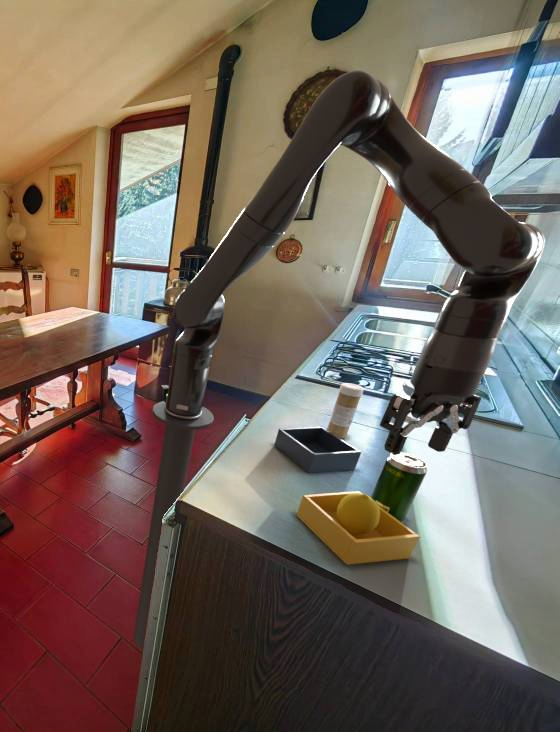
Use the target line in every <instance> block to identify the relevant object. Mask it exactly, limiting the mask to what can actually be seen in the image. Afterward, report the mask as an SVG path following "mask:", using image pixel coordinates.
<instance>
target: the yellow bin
mask: <svg viewBox="0 0 560 732" xmlns="http://www.w3.org/2000/svg"><path fill="white" fill-rule="evenodd" d="M353 493H361V494H363V493H362V492H361V491H359V490H354V491H353V490H352V491H342V492H339V491H338V492H330V493H327V492H326V493H315V494H303V495H302V497H301V500H300V503H299V506H298V510H297V512H296V517H297V518H299V519H300V521H301V522H303V524H304V525H305V526H306V527H308V528H309V530H311V531H312V532H313V533H314V535H316V536H317V537H318V538H319V540H321V541H322V542H323V543H324V544H325V545H326V546H327V548H329V549H330V550H331V551H332V552H333V553H334V554H335V555H336V556H337V557H338V558H339V559H340V560H341V561H342V562H343V563H344V564H345V565H357V564H358V565H359V564H367V563H377V562H378V563H379V562H388V561H398V560H407V559H410V558H411V555H412V553H413V552H414V550H415V548H416V547H417V543H418V542H419V540H420V538H421V536H420V535H419V534H417V533H416V532H415V531H413V530H412V529H411V528H410V527H408V526H407V525H406V524H404V523H403V522H400V521H398V520H397V519H396V518H394V517H393V516H392V515H390V514H389V513H388V512H386V511H385V510H384V509H382V508H381V507H380V506H378V507H379V509H380V518H379V522H378V525H377V526H376V527H375V529H374V530H373V531H371V532H369V533H367V534H354V533H349V532H348V531H347V530H345V529H344V528H343V527H342V526H341V525H340V523H339V522H338V519H337V507H338V505H339V503H340V502H341V500H342V499H343V498H344V497H345V496H347V495H349V494H353Z"/></svg>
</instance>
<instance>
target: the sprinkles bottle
mask: <svg viewBox="0 0 560 732" xmlns="http://www.w3.org/2000/svg"><path fill="white" fill-rule="evenodd" d="M364 390H365V388H364V387H363V386H361V385H358V384H355V383H351V382H343V383H341V384H340V386H339V389H338V394H337V398H336V401H335V403H334V406H333V408H332V411H331V414H330V417H329V422H328V424H327V427H326V428H325V429H326V430H328V431H329V432H331V433H332V434H334V435H335V436H337V437H339V438H340V439H345V438H347V437H348V432H349V430H350V427H351V425H352V422H353V419H354V417H355V415H356V412H357V408H358V405H359V403H360V399H361V398H362V396H363V394H364Z"/></svg>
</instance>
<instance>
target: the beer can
mask: <svg viewBox="0 0 560 732" xmlns="http://www.w3.org/2000/svg"><path fill="white" fill-rule="evenodd" d="M428 466H429V465H428V463H427V462H426V461H425V460H423V459H422V458H420V457H418V456H415V455H413V454H409V453H406V452H402V451H401V453H400V454H399V455H393V454H391V453H390V455H389V456H387V457H386V460H385V462H384V464H383V467H382V470H381V472H380V474H379V476H378V479H377V482H376V484H375V486H374V488H373V491H372V494H371V496H370V497H371V498H372V499H373V500H374V501H375V502H376V503H377V505H378V506H380V507H381V508H382V509H384V510H385V511H386V512H388V513H389V514H390V515H392V516H393V517H394V518H396V519H397V520H398V521H400V522H401V523H403V521H405V519H406V517H407V515H408V513H409V511H410V509H411V507H412V505H413V502H414V500H415V498H416V497H417V494H418V492H419V490H420V487H421V485H422V484H423V481H424V479H425V477H426V475H427V472H428V469H427V468H428Z"/></svg>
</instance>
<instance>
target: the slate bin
mask: <svg viewBox="0 0 560 732" xmlns="http://www.w3.org/2000/svg"><path fill="white" fill-rule="evenodd" d="M326 429H327V428H324V427H323V426H308V427H287V428H278V430H277V434H276V437H275V441H274V444H273V446H274V447H275V448H277V449H278V450H279V451H281V453H283V454H284V455H285V456H287V457H288V458H289V459H290V460H291V461H293V462H294V463H295V464H296V465H298V466H299V467H300V468H301V469H303V470H304V471H305V472H307V474H312V473H327V472H340V471H341V472H342V471H343V472H344V471H355V470H356V468H357V465H358V462H359V460H360V457H361V454H362V451H360V450H359V449H358V448H356V447H355V446H353V445H351V444H350V443H348V442H347V441H345V440H343V438H339V437H337V436H335V435H334V434H332V433H331V432H329V431H328V430H326Z"/></svg>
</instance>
